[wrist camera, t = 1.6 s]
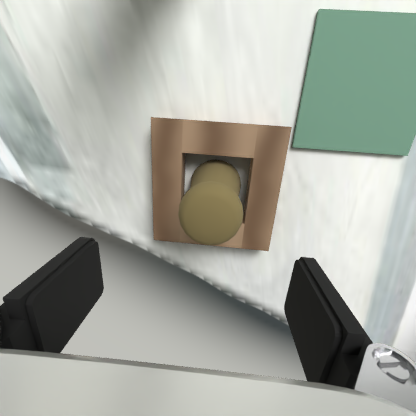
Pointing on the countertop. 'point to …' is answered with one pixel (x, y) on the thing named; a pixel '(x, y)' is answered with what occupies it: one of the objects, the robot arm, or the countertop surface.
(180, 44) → the countertop surface
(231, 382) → the robot arm
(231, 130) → the socket
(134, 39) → the countertop surface
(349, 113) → the mat
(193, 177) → the cork
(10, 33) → the countertop surface
